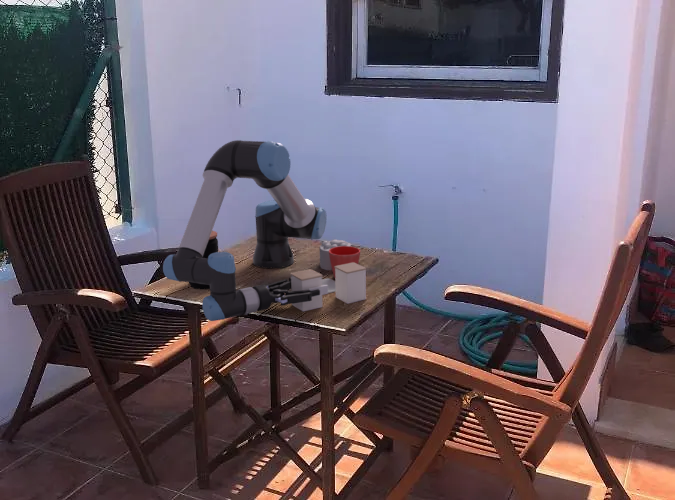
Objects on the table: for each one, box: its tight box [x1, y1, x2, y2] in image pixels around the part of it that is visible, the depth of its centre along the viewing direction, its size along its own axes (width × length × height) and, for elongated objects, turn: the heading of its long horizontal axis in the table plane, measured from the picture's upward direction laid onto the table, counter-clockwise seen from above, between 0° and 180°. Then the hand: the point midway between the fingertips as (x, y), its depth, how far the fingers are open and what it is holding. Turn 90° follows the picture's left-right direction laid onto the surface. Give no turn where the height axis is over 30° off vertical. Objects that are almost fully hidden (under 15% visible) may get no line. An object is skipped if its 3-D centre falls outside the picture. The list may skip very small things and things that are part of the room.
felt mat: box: [322, 277, 336, 294], centre depth 244 cm, size 12×12×1 cm
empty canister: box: [334, 262, 367, 304], centre depth 233 cm, size 7×7×10 cm
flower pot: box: [329, 246, 361, 279], centre depth 253 cm, size 11×11×10 cm
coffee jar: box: [188, 230, 219, 290], centre depth 246 cm, size 11×11×18 cm
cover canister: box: [289, 268, 324, 312], centre depth 227 cm, size 7×7×10 cm
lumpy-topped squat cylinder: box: [319, 239, 352, 271], centre depth 267 cm, size 10×13×9 cm
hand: (319, 284), depth 229 cm, fingers open, 9 cm apart
